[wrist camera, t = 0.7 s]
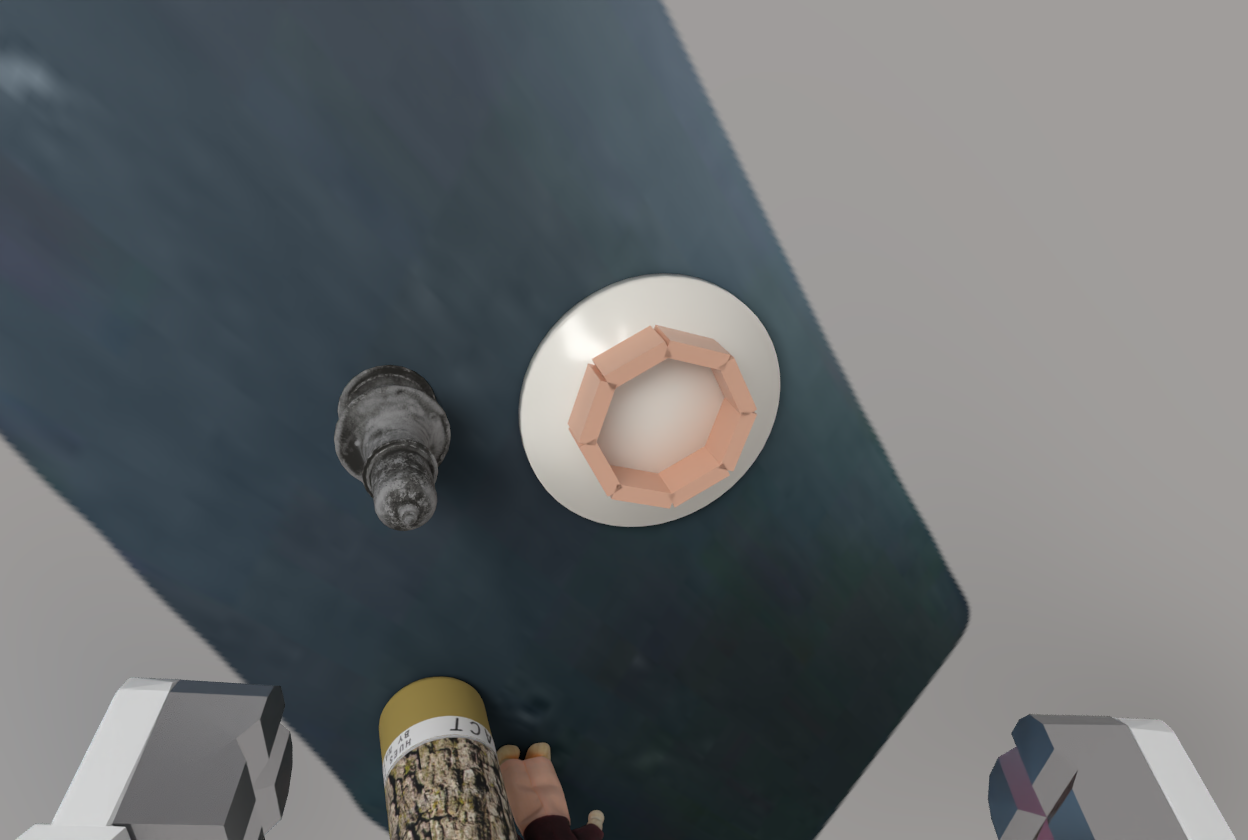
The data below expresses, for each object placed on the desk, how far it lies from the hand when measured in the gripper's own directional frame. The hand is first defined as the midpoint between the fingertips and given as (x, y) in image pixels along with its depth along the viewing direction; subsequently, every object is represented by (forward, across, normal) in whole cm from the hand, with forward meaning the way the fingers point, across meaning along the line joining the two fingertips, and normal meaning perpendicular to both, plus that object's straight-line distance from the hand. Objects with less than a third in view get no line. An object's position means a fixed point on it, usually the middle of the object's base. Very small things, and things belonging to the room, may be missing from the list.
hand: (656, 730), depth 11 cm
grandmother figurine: (+33, +2, +50) cm, 60 cm away
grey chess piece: (+36, +10, +23) cm, 44 cm away
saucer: (+40, -4, +24) cm, 47 cm away
